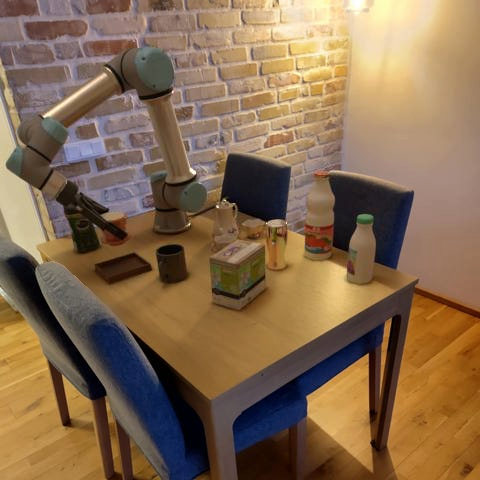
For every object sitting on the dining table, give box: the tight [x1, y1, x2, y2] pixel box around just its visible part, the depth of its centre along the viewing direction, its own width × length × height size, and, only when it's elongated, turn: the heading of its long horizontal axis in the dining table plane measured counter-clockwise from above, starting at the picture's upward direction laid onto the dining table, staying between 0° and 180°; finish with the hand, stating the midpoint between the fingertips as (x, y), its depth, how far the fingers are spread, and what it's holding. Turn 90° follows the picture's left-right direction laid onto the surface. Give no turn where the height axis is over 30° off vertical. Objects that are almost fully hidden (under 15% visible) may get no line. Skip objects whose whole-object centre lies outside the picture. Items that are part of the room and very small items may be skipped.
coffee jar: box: [62, 204, 101, 253], centre depth 163 cm, size 10×8×19 cm
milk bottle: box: [346, 213, 377, 285], centre depth 129 cm, size 8×8×20 cm
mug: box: [155, 243, 188, 284], centre depth 139 cm, size 12×9×10 cm
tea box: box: [208, 238, 267, 311], centre depth 126 cm, size 15×10×15 cm, turn 148°
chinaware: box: [210, 197, 266, 253], centre depth 161 cm, size 28×17×17 cm, turn 148°
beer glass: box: [265, 219, 289, 271], centre depth 141 cm, size 7×7×15 cm
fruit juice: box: [304, 170, 336, 261], centre depth 143 cm, size 9×9×28 cm
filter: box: [99, 211, 132, 247], centre depth 141 cm, size 10×10×9 cm
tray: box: [93, 251, 153, 285], centre depth 149 cm, size 15×13×2 cm
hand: (124, 231), depth 143 cm, fingers closed on filter, 10 cm apart
